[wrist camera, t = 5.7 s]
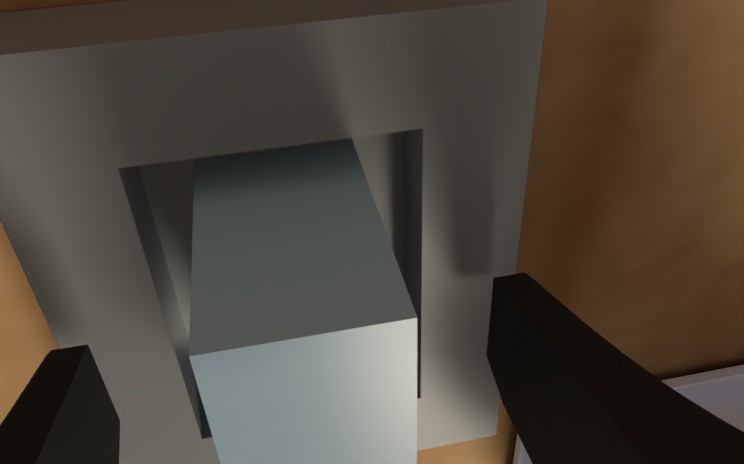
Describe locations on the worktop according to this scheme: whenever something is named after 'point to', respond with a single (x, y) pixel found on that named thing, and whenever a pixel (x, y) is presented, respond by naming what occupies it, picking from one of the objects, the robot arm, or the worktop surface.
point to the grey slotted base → (257, 135)
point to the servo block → (300, 313)
